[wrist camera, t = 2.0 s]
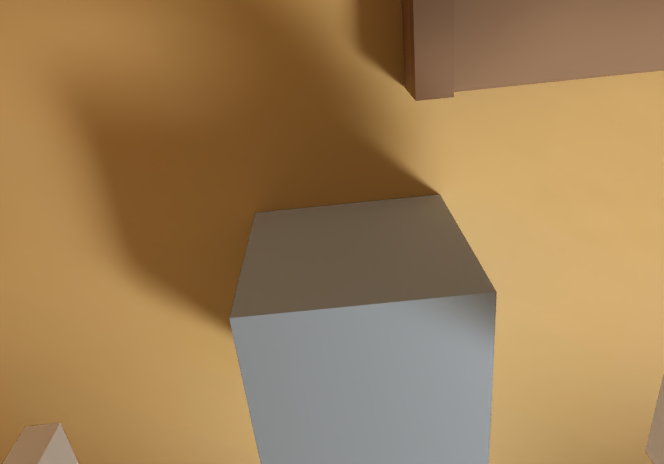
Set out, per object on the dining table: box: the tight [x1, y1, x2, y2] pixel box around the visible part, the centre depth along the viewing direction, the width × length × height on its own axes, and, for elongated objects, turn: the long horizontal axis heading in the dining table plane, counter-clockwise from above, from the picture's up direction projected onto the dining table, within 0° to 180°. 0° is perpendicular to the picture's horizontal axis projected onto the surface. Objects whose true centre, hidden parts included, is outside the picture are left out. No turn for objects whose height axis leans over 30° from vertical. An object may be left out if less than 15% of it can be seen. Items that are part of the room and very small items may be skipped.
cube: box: [229, 194, 496, 464], centre depth 16 cm, size 6×6×6 cm
